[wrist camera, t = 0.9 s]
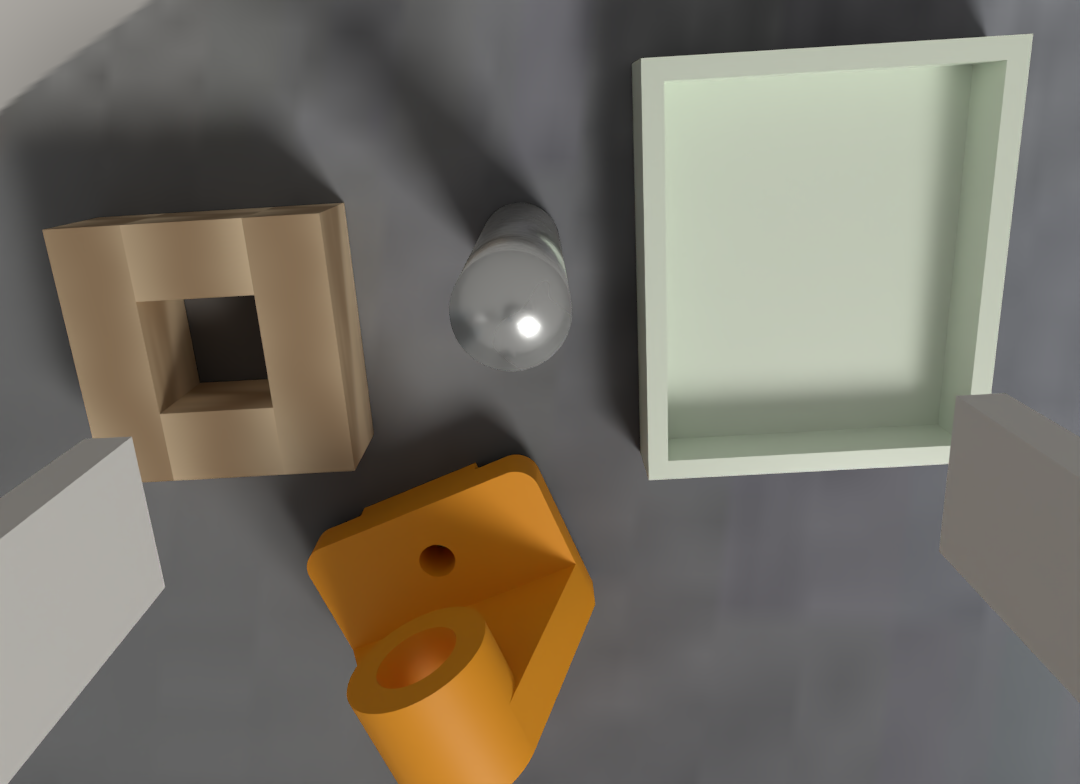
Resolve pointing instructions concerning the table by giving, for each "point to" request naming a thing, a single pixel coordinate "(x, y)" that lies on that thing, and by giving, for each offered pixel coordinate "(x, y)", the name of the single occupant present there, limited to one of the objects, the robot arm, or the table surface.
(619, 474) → the table surface
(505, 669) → the bracket
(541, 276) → the cylinder
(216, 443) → the bore block
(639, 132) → the tray
